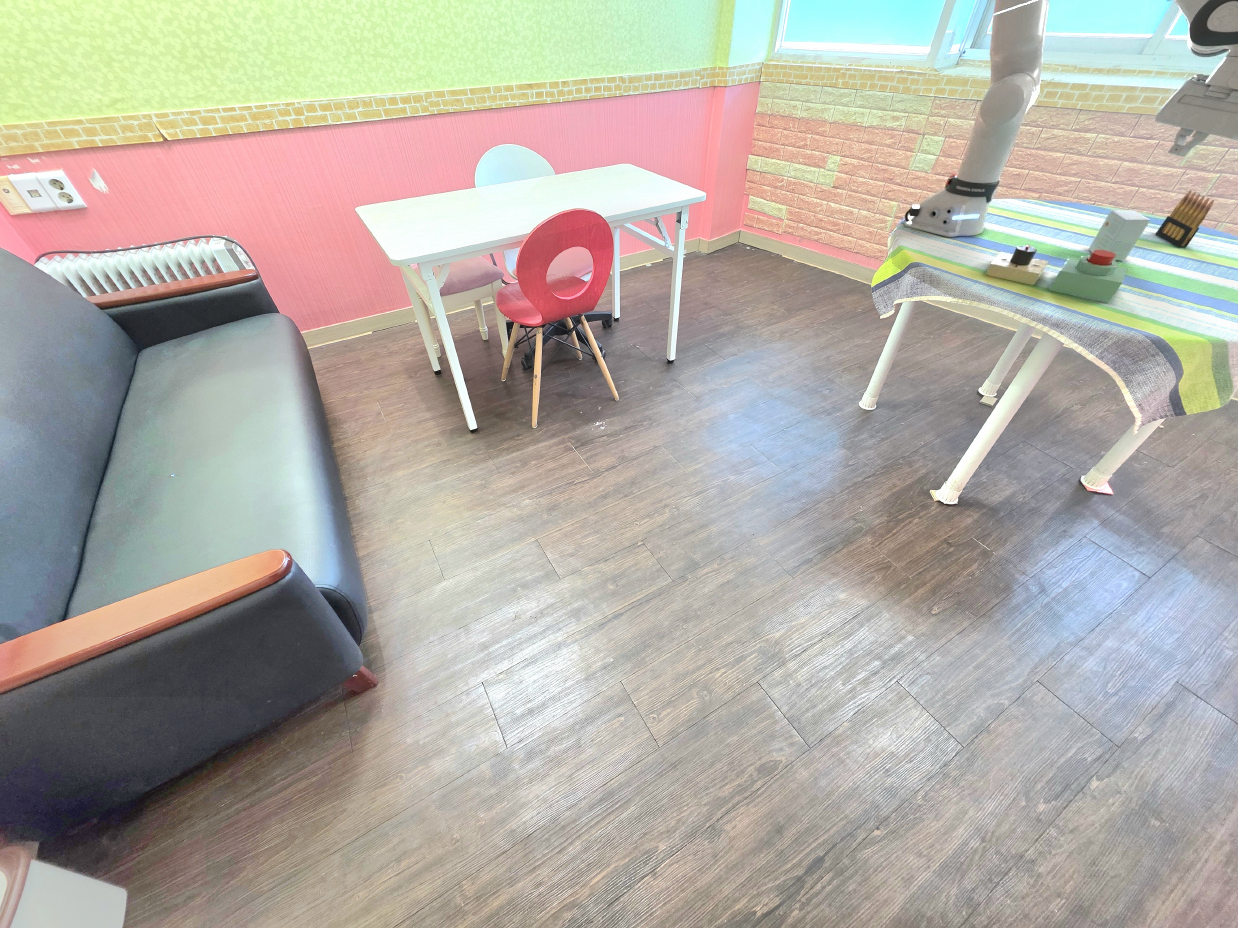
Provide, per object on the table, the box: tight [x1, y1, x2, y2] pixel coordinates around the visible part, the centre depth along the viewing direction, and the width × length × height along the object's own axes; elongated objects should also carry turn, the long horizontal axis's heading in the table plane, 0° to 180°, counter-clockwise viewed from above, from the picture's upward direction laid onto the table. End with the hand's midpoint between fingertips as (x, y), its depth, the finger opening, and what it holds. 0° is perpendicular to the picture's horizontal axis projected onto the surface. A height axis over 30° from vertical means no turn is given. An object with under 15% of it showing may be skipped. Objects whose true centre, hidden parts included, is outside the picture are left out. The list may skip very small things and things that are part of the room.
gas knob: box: [1010, 244, 1038, 265], centre depth 128 cm, size 4×4×4 cm
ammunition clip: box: [1155, 189, 1215, 248], centre depth 138 cm, size 11×2×12 cm, turn 172°
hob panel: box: [985, 251, 1049, 286], centre depth 130 cm, size 11×10×3 cm
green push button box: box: [1048, 255, 1129, 304], centre depth 121 cm, size 12×10×7 cm
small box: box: [1088, 209, 1151, 261], centre depth 133 cm, size 8×6×10 cm
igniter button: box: [1087, 250, 1116, 266], centre depth 118 cm, size 4×4×2 cm
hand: (1175, 155), depth 112 cm, fingers closed
